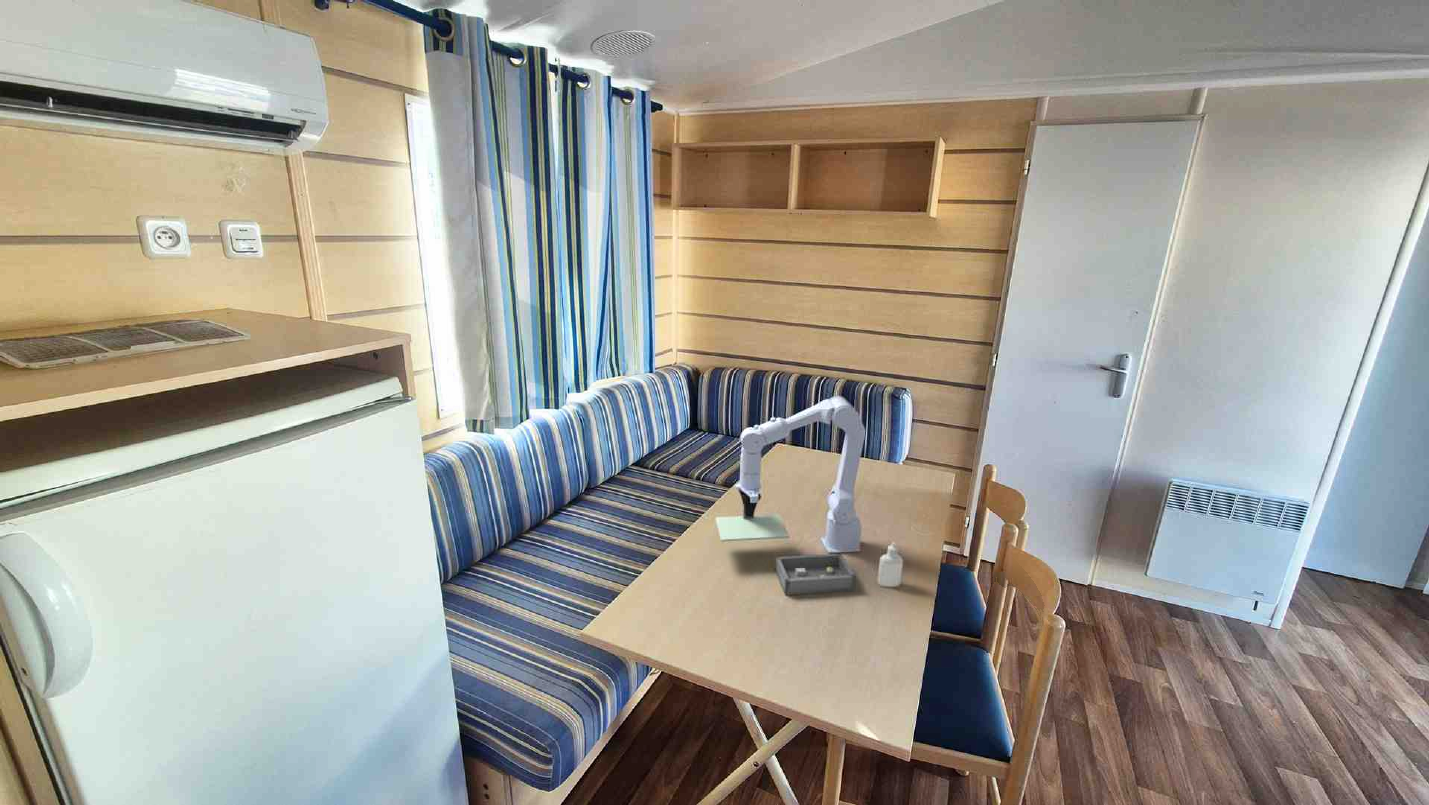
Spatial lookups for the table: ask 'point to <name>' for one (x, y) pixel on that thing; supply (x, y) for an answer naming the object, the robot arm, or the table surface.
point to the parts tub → (814, 574)
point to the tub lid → (751, 527)
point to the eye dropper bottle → (890, 568)
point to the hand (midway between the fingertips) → (748, 514)
